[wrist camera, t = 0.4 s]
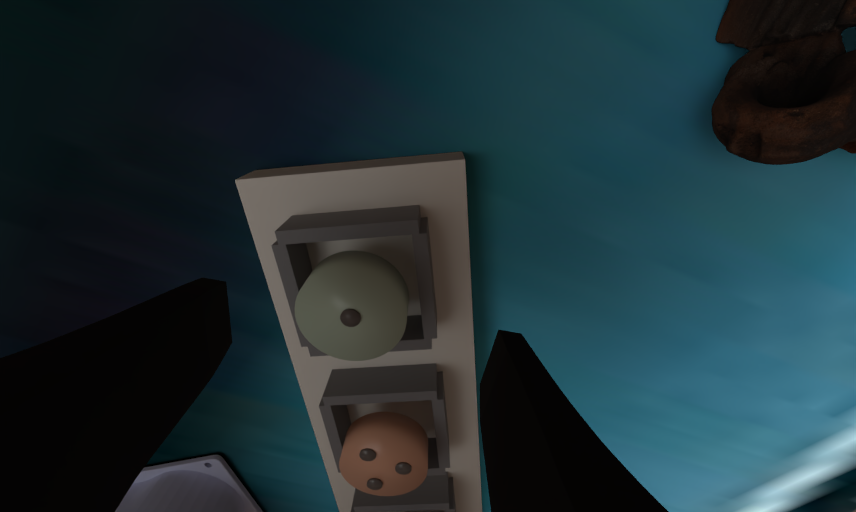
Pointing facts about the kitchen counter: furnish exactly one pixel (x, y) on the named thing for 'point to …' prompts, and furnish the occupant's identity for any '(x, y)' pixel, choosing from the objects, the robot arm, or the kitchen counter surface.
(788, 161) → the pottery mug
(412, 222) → the button panel
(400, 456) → the three pip button
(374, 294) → the one pip button
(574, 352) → the kitchen counter surface
